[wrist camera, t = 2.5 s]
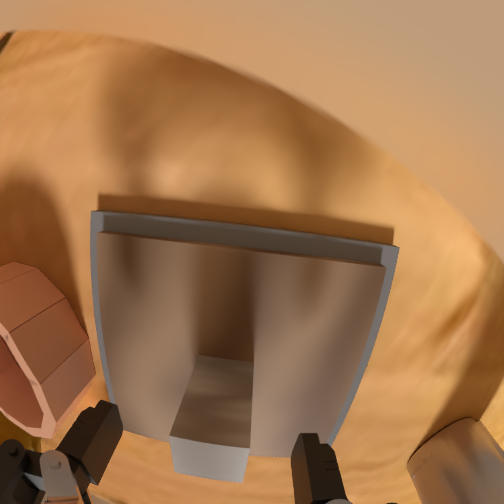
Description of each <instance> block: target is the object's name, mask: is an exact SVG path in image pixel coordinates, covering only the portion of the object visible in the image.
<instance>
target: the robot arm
mask: <svg viewBox="0 0 504 504" xmlns="http://www.w3.org/2000/svg"><path fill="white" fill-rule="evenodd" d="M122 432H123V424H122V420H121V417H120V413H119V409H118V406H117V405H116V404H113V403H110V402H107V401H104V400H100V401H99V402H98V404H97V405H96V407H95V408H93V407H88V408H87V409H85V410H84V411H82V412H81V413H80V415H79V416H78V418H77V419H76V421H75V422H74V424H73V425H72V427H71V428H70V429H69V431H68V432H67V434H66V435H65V437H64V438H63V440H62V441H61V443H60V444H59V446H58V447H57V448H56V449H55V450H48V451H46V452H44V453H39V452H35V451H31V450H28V449H25V448H24V446H23V445H22V443H21V442H19V441H18V440H15V439H8V440H6V441H4V442H3V443H2V444H1V446H0V504H41V501H42V499H43V497H44V495H45V493H46V495H47V501H45V502H44V504H93V501H92V499H91V496H90V493H89V490H88V486H89V484H90V483H92V484H95V485H97V486H98V484H99V482H100V480H101V478H102V476H103V474H104V471H105V469H106V467H107V465H108V463H109V461H110V459H111V457H112V455H113V452H114V450H115V448H116V446H117V444H118V442H119V440H120V438H121V436H122ZM291 469H292V478H293V487H294V497H295V504H352V503H351V502H350V501H349V500H348V499H347V497H346V494H345V490H344V486H343V482H342V478H341V474H340V471H339V467H338V463H337V459H336V455H335V452H334V450H333V449H332V448H331V447H330V445H329V444H328V443H323V444H320V441H319V436H318V434H317V433H299V435H298V438H297V440H296V443H295V445H294V448H293V450H292V454H291ZM407 469H408V472H409V474H410V476H411V479H412V481H413V483H414V485H415V488H416V490H417V493H418V495H419V498H420V500H421V502H422V504H504V451H503V450H502V449H501V447H500V446H499V445H498V443H497V442H496V441H495V439H494V438H493V437H492V435H491V434H490V433H489V431H488V430H487V429H486V427H485V426H484V425H483V424H482V422H481V421H477V422H475V420H474V419H473V418H465V419H462V420H459V421H457V422H455V423H453V424H451V425H450V426H448V427H446V428H445V429H443V430H442V431H440V432H439V433H437V434H436V435H435V436H433V437H432V438H431V439H430V440H428V441H427V442H426V443H425V444H424V445H422V446H421V447H420V448H419V449H418V450H417V451H416V452H415V454H414V455H413V456H412V457H411V459H410V460H409V462H408V464H407ZM387 504H397V503H387Z"/></svg>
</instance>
